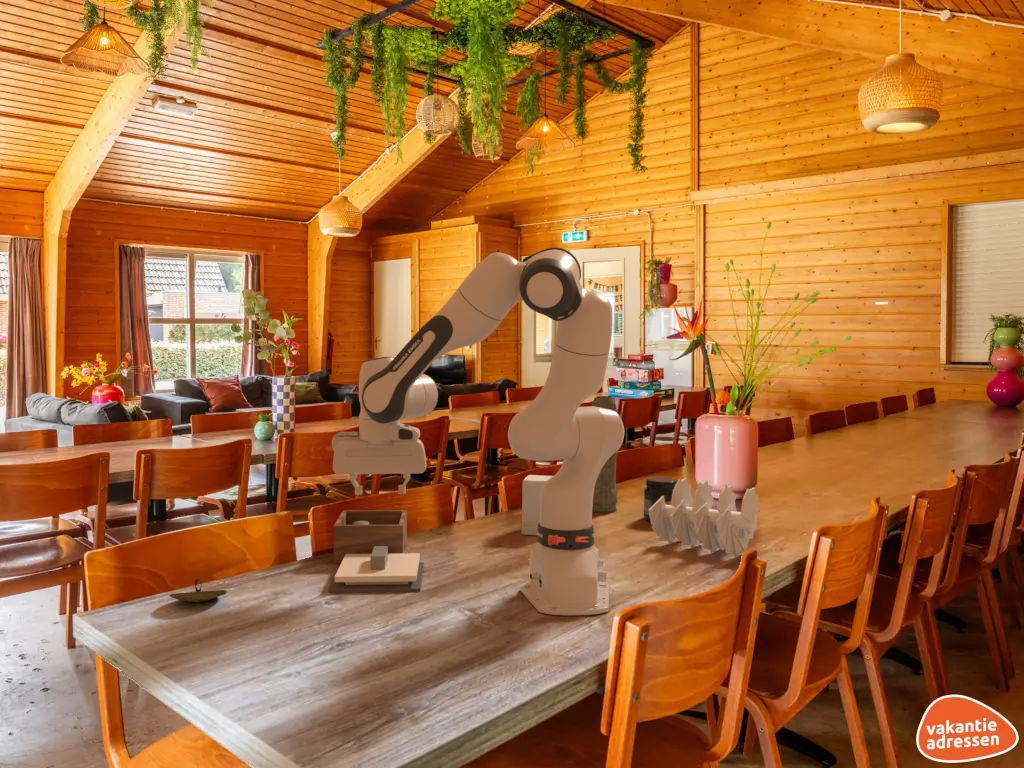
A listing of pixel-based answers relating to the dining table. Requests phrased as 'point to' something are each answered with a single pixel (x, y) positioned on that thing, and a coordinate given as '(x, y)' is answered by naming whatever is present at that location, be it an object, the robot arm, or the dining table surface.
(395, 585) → the mat
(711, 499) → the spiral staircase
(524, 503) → the supplement box
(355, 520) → the crate
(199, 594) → the lid
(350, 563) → the lid panel
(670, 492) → the supplement container
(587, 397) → the robot arm
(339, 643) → the dining table surface
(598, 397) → the thermos
